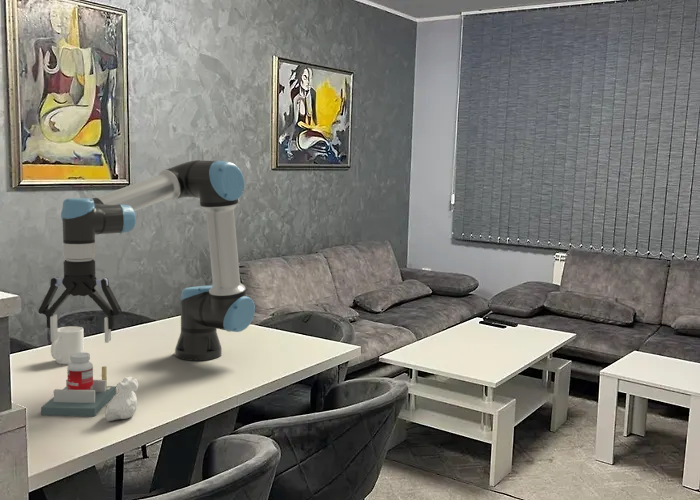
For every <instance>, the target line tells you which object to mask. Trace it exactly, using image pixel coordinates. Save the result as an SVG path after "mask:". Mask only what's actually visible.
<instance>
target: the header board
mask: <svg viewBox="0 0 700 500" xmlns="http://www.w3.org/2000/svg"><path fill="white" fill-rule="evenodd" d="M107 368H108V367H107V366H105V365H103V366H101V379H93V390H68V378H66V380H65V382H66V383H65V387H64V388H61V389H60V388H59V389H58V388H56V389H54V390H53V397H51V399H49V400H48V401H47V402H45V404H43V405H42V406H41V408H40V413H41V416H61V417H62V416H65V417H66V416H67V417H72V416H73V417H96V416H97V415H98V414H99V413H100V411H101V410H102V409H103V408H105V406H106V405H107V404H109V403H110V402H111V400H112V399H113V397H114V396H115V395H116V394H117V387H116V386H117V385H115V386H114V385H110V386H109V385H107V384H108V383H107V379H108V378H107Z"/></svg>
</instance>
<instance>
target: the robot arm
mask: <svg viewBox="0 0 700 500" xmlns="http://www.w3.org/2000/svg"><path fill="white" fill-rule="evenodd" d="M245 182H246V181H245V178H244V175H243V172H242V170H241V169H240V168H239V166H237V165H236V164H235V163H233V162H231V161H225V160H200V159H199V160H197V159H196V160H191V161H186V162H183V163H180V164H178V165H175V166H172V167H168V168H166V169H163V170H161V171H159V173H158V175H157V176H154V177H151V178H148V179H145V180H141V181H138V182H136V183H134V184H133V183H132V184H130V185H127V186H125V187H122V188H119V189H116V190H115V189H114V190H113V191H110V192H107V193H104V194H102V195H98V196H95V197H93V198H89V197H87V198H85V197H76V198H75V197H72V198H71V197H69V198H65V199H64V200H63V202H62V207H61V208H62V209H61V213H60V217H61V221H62V240H63V241H62V246H63V247H62V249H63V250H62V251H63V258H64V259H65V260H64V261H63V277H62V278H60V277H58V276H54V277H53V278H51V279H50V286H49V289H48V290H47V293H46V294H45V297H44V299H43V301H42V302H41V305H40V306H39V309H38V314H42V315H45V316H46V317H45V318H46V328H47V329H50V342H51V343H52V342H54V341H56V340H57V339H58V329H57V328H58V314H55V312H56V311H57V310H59V308H60V307H61V306H62V305H63V303H64V302H65V301H66V300H67V299H68V297H69V296H73V297H76V296H81V297H86V296H89V298H90V299H92V300H93V301H94V302H95V304H96V305H97V306H98V307H99V308H100V310H102V312H103V313H104V314H105V315H106V316H105V317H103V319H104V320H103V321H104V343H109V342H110V341H111V340H112V336H111V335H112V330H114V328H115V316H118V315H120V314H121V313H122V312H123V311H122V308H121V306H120V304H119V302H118V300H117V298H116V296H115V294H114V293H113V291H112V289H111V287H110V282H109V278H108V277H104V278H98V279H97V277H96V260H95V259H94V258H95V256H96V251H95V250H96V236H97V235H108V234H123V233H129V232H131V231H132V230H133V229H134V228H135V226H136V224H137V219H136V218H137V216H136V213H135V212H136V211H139V210H142V209H145V208H147V207H150V206H152V205H156V204H158V203H161V202H163V201H166V200H169V201H175V200H178V199H182V198H197V199H199V207H200V208H201V209H203V210H204V211H205V217H206V226H207V227H206V228H207V234H208V235H207V237H208V245H209V246H208V248H209V257H210V268H211V278H212V284H211V285H197V286H192V287H185V288H183V289H182V291H181V295H180V333H179V337H178V339H177V343H176V345H175V349H174V352H175V353H174V355H175V356H174V357H175V358H178V359H181V360H184V361H185V360H186V361H209V360H214V359H217V358H219V357H222V354H223V353H222V352H223V351H222V350H223V349H222V344H221V342H220V338H219V336H218V332H217V329H218V330H222V331H226V332H230V333H231V332H234V333H240V332H243V331H244V330H246V329H248V327H249V326H250V325H251V322H252V321H253V319H254V317H255V315H256V314H255V312H256V307H255V302H254V300H253V299H252V298H251V297H250V296H247V290H246V289H247V288H246V286H245V285H244V284H243V283H241V275H240V274H241V273H240V264H239V254H238V253H239V251H238V241H237V230H236V219H235V208H236V207H237V206H238V204H239V199H240V198H241V197H242V195H243V194H244V193H243V192H244V191H245V185H246V184H245ZM61 285H63V286H64V288H65V290H63V292H62V293H61V295H60V296H59V297H58V298H57V300H55V302H54V303H53V304H52V305H51V302H52V301H53V299H54V296H55V294H56V293H57V291H58V288H59V287H60V286H61ZM96 286H98V287H99V288H101V290H102V292H103V294H104V296H105V298H106V300H107V301H108V303H107V301H106V300H105V299H104V298H103V297H102V296H101V295H100V293H99V292H98V290H97V289H96V288H95V287H96ZM50 305H51V306H50Z"/></svg>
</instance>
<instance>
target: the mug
mask: <svg viewBox="0 0 700 500" xmlns="http://www.w3.org/2000/svg"><path fill="white" fill-rule="evenodd" d="M57 329H58V339H57V340H56V341H54V342H51V344H50V353H51V355H50V356H51V357H52V358H53V360H55V362H56V363H57V364H59V365H67V366H68V365H69V364H70V363H71V360H70V355H71V354H73V353H80V352H83V353H85V349H84V348H85V347H84V345H85V344H84V342H85V341H84V339H85V338H84V337H85V336H84V327H82V326H73V325H72V326H62V327H57Z"/></svg>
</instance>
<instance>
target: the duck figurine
mask: <svg viewBox="0 0 700 500" xmlns="http://www.w3.org/2000/svg"><path fill="white" fill-rule="evenodd" d="M138 381H139V380H138V379H136V378H135V377H132V376H126V377H124V378H123V379H122V380H121V381H120V382H118V383H116V385H115V386H116V389H117V390H118V393H116V394H115V395H114V396H113V397H112V399H111V400H110V401H109V402H108V403H107V404H108V405H107V406H106V409H105V412H104V413H105V414H104V415H105V416H104V417H105V421H107V422H112V421H116V420H117V421H118V420H124V419H125V420H127V419H129V418H131V417H132V416H133V415H135V413H136V411H137V409H138V399H137V398H138V397H137V394H136V393H135V392H136V391H137V390H138V389H139V382H138Z"/></svg>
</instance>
